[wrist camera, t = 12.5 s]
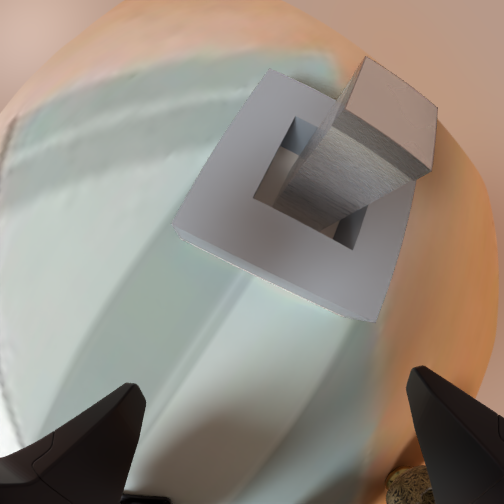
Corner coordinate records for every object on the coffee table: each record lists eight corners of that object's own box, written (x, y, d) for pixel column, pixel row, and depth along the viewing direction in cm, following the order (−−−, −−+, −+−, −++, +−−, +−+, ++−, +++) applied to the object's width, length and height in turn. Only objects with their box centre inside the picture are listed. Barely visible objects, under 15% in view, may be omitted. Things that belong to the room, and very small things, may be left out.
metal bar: (316, 234, 21) (431, 171, 8) (269, 209, 21) (343, 108, 8) (333, 191, 22) (437, 107, 9) (290, 167, 22) (365, 56, 9)
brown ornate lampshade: (415, 438, 21) (461, 466, 13) (423, 469, 20) (461, 495, 12) (361, 479, 19) (399, 519, 11) (375, 506, 19) (407, 539, 11)
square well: (342, 316, 21) (375, 322, 16) (180, 239, 20) (170, 223, 15) (389, 176, 24) (420, 156, 19) (259, 104, 23) (269, 68, 18)
